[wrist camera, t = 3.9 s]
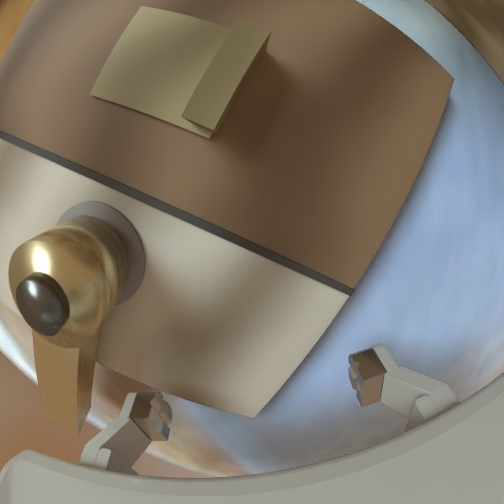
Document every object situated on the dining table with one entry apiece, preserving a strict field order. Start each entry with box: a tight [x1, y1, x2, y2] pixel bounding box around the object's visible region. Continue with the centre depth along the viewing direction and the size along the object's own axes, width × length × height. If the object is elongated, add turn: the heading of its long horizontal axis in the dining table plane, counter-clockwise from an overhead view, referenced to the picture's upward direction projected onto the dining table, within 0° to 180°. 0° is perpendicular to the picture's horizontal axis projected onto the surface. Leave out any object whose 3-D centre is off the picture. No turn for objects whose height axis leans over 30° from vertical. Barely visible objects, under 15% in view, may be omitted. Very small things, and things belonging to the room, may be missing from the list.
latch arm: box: [8, 215, 130, 436], centre depth 9 cm, size 12×4×4 cm, turn 153°
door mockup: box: [0, 0, 454, 418], centre depth 8 cm, size 20×20×3 cm
